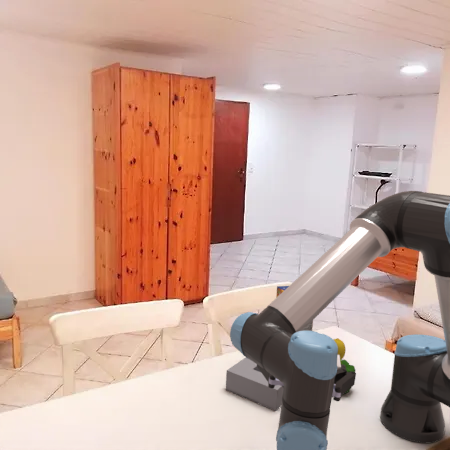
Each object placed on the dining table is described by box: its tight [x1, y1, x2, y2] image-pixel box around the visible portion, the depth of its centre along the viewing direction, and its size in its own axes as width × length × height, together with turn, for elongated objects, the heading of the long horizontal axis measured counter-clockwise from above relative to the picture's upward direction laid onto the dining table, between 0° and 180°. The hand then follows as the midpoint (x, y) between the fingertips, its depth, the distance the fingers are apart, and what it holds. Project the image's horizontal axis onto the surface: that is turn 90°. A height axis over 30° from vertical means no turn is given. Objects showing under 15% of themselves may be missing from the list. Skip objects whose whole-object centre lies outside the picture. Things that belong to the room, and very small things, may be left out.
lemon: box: [332, 338, 346, 360], centre depth 146 cm, size 6×6×8 cm
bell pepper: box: [340, 359, 356, 395], centre depth 129 cm, size 8×8×10 cm
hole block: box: [225, 357, 283, 412], centre depth 128 cm, size 16×16×6 cm
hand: (306, 354), depth 101 cm, fingers open, 13 cm apart
